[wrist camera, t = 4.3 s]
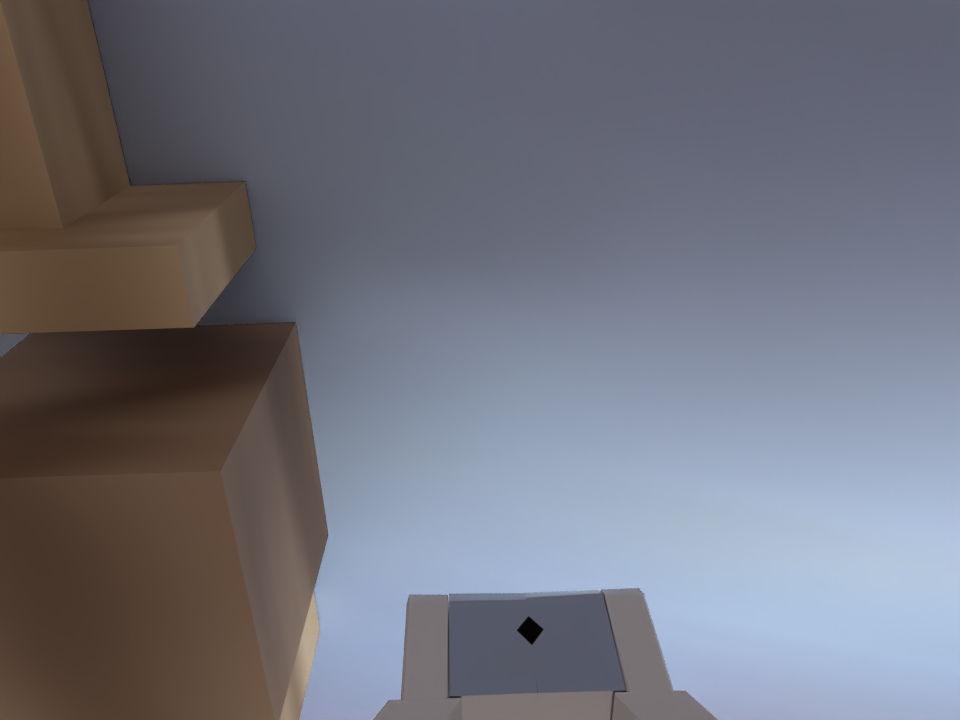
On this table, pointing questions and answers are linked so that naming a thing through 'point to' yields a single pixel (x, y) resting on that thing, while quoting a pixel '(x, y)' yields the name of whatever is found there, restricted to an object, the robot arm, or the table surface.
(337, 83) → the table surface
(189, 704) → the block
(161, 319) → the wooden flat frame
